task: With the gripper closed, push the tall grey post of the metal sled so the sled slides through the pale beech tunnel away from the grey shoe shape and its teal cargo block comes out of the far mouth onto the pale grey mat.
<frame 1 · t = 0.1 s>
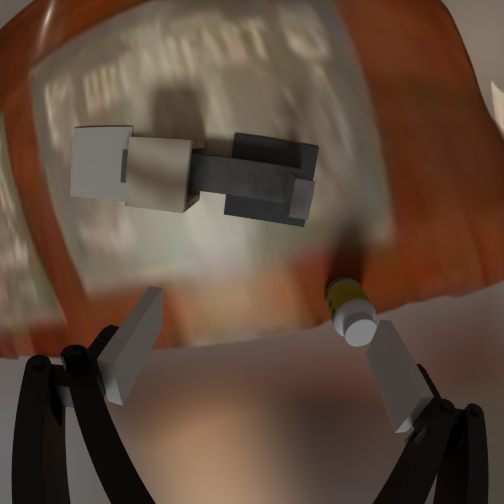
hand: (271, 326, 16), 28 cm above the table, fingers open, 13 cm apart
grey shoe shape: (270, 180, 40), on the table
tunnel: (176, 168, 40), on the table
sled: (198, 176, 34), point 7 cm above the table, slide at 0.0 cm
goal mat: (98, 162, 40), on the table
pill bottle: (342, 292, 46), on the table
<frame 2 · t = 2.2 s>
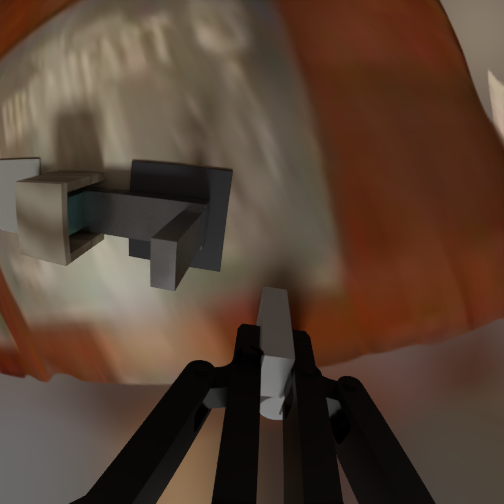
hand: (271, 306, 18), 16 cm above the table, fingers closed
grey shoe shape: (175, 216, 33), on the table
tunnel: (79, 203, 32), on the table
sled: (80, 222, 26), point 7 cm above the table, slide at 0.0 cm
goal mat: (17, 197, 32), on the table
pill bottle: (277, 343, 39), on the table
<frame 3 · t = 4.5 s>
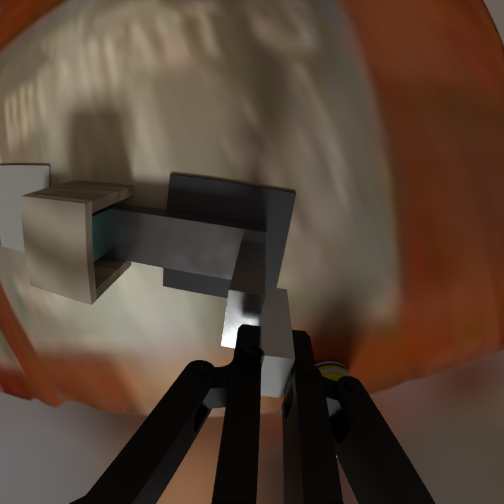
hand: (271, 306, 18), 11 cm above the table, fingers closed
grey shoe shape: (223, 242, 28), on the table
tunnel: (100, 222, 28), on the table
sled: (107, 251, 22), point 7 cm above the table, slide at 0.1 cm, touching gripper
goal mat: (21, 210, 28), on the table
pill bottle: (324, 375, 34), on the table
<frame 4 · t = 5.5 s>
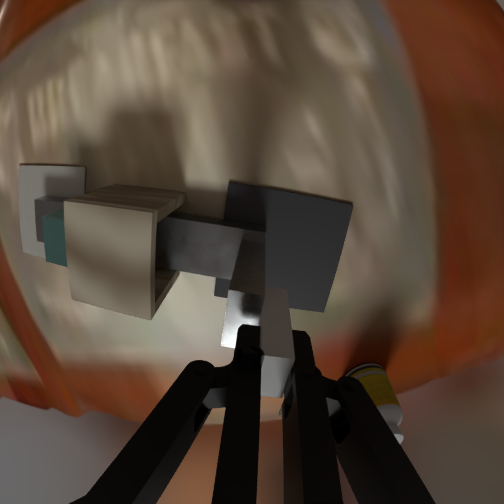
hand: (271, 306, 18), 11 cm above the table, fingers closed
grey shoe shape: (281, 252, 28), on the table
tunnel: (145, 229, 28), on the table
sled: (107, 251, 22), point 7 cm above the table, slide at 5.9 cm, touching gripper
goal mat: (48, 214, 28), on the table
pill bottle: (362, 377, 34), on the table
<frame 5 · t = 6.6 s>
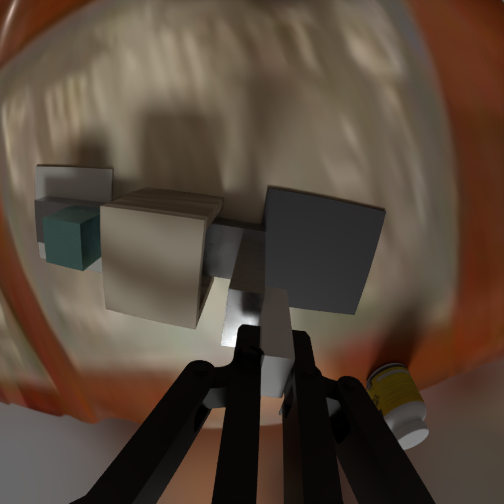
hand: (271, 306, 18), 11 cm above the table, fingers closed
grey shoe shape: (317, 257, 28), on the table
tunnel: (179, 235, 28), on the table
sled: (107, 251, 22), point 7 cm above the table, slide at 9.6 cm, touching gripper
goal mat: (70, 218, 28), on the table
pill bottle: (385, 376, 34), on the table
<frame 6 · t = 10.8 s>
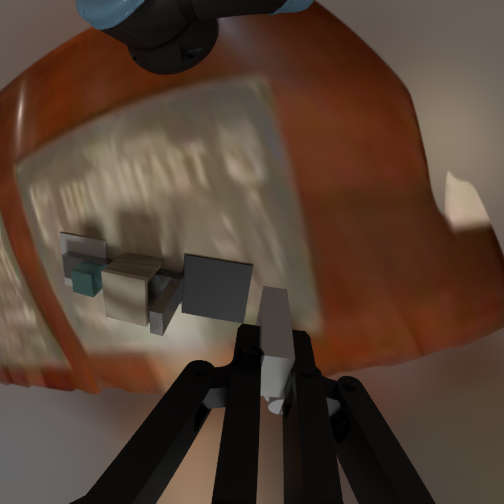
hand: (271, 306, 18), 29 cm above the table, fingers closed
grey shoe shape: (215, 290, 51), on the table
tunnel: (143, 276, 51), on the table
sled: (105, 288, 45), point 7 cm above the table, slide at 9.7 cm
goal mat: (83, 264, 51), on the table
pill bottle: (279, 365, 57), on the table
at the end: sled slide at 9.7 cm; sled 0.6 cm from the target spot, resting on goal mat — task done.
